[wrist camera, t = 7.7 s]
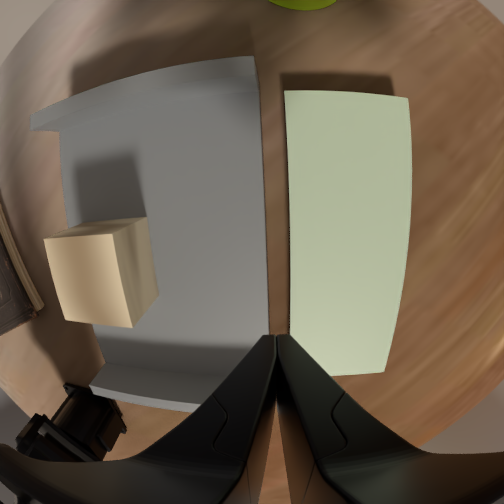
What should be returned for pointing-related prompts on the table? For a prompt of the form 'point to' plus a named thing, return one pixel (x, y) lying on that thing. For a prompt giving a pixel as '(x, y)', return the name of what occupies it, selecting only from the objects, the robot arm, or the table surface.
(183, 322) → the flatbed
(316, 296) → the panel
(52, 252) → the beech block
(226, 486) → the robot arm
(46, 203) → the table surface
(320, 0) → the soap dispenser
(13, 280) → the hardcover book
